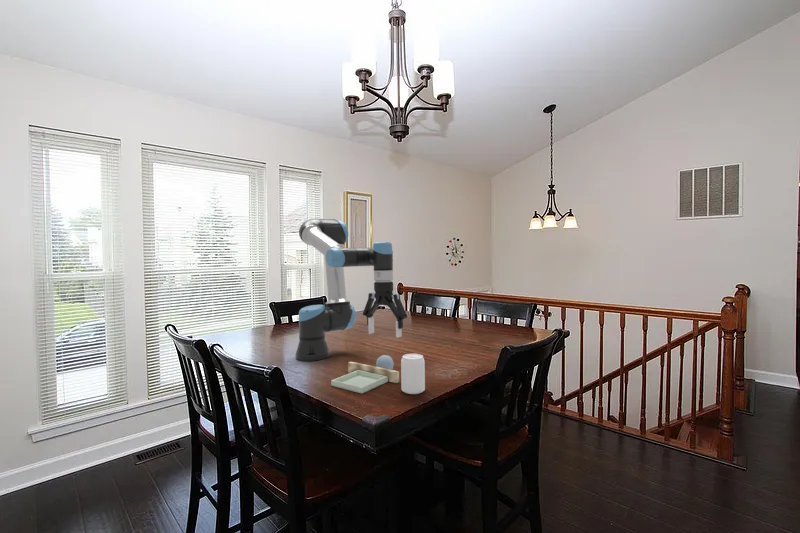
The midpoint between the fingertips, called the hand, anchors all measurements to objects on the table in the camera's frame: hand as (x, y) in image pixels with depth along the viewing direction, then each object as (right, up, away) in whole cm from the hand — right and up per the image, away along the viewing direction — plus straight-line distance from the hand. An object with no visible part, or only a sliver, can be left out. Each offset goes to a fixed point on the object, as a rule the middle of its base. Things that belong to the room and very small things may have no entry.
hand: (384, 335), depth 152 cm
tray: (-9, -16, -11) cm, 21 cm away
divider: (-4, -15, -4) cm, 16 cm away
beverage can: (+11, -16, -19) cm, 27 cm away
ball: (0, -15, +1) cm, 15 cm away
